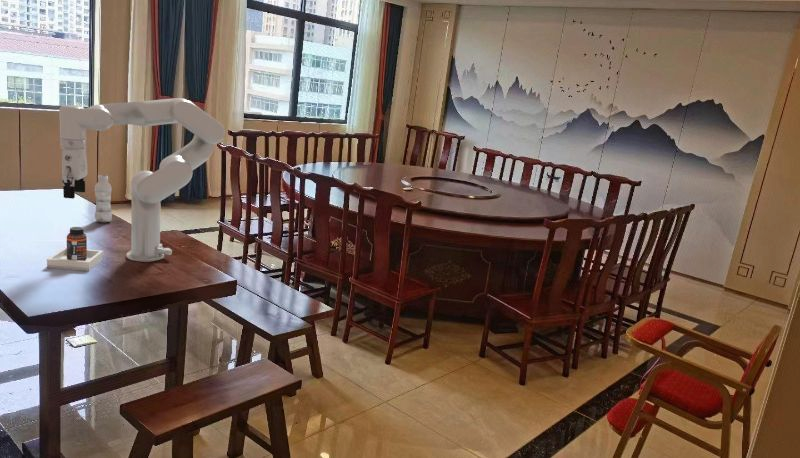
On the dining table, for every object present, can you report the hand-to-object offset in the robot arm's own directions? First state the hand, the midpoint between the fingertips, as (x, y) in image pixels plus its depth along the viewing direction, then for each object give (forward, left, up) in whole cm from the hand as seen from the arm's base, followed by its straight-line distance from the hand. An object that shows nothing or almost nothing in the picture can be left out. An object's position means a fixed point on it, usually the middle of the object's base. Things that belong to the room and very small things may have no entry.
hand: (74, 194), depth 194 cm
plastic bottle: (+9, -51, -23) cm, 57 cm away
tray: (-1, +3, -23) cm, 23 cm away
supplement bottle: (-1, +2, -22) cm, 23 cm away
